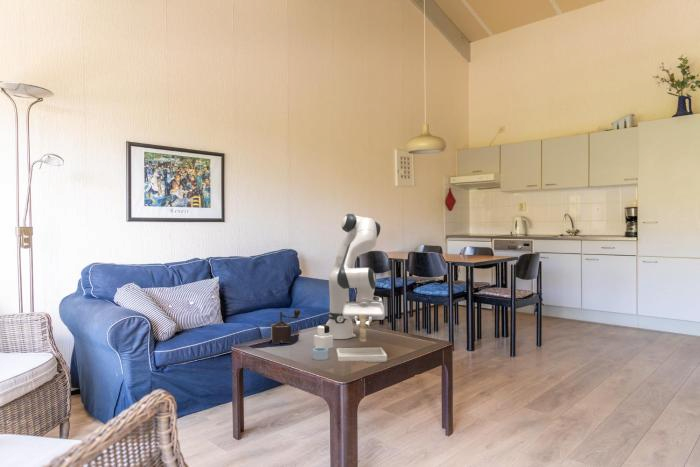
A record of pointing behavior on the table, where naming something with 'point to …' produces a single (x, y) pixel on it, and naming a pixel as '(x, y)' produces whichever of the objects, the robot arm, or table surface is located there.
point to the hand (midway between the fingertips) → (362, 325)
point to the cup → (320, 353)
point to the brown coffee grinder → (282, 329)
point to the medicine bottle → (323, 337)
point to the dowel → (362, 327)
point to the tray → (362, 354)
